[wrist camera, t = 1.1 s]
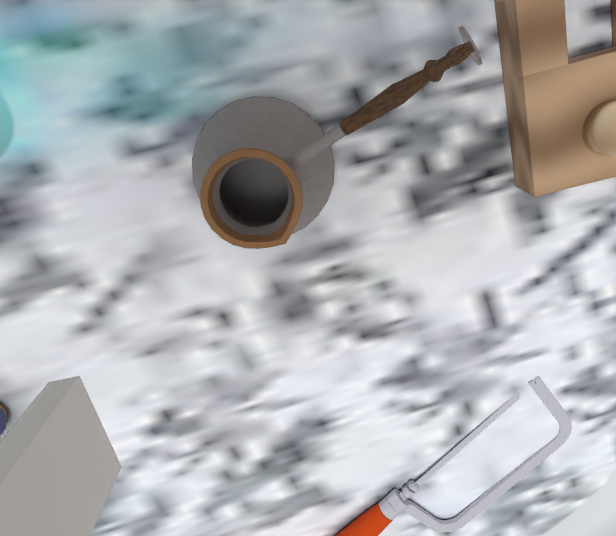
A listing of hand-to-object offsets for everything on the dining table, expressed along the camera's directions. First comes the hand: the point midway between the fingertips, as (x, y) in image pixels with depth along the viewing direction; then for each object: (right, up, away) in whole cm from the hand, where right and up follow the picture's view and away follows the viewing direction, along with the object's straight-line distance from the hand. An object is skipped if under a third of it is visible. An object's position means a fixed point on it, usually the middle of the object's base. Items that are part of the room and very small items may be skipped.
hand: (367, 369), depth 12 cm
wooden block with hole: (+20, +19, +29) cm, 40 cm away
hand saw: (+14, -22, +46) cm, 53 cm away
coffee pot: (-1, +14, +31) cm, 34 cm away
